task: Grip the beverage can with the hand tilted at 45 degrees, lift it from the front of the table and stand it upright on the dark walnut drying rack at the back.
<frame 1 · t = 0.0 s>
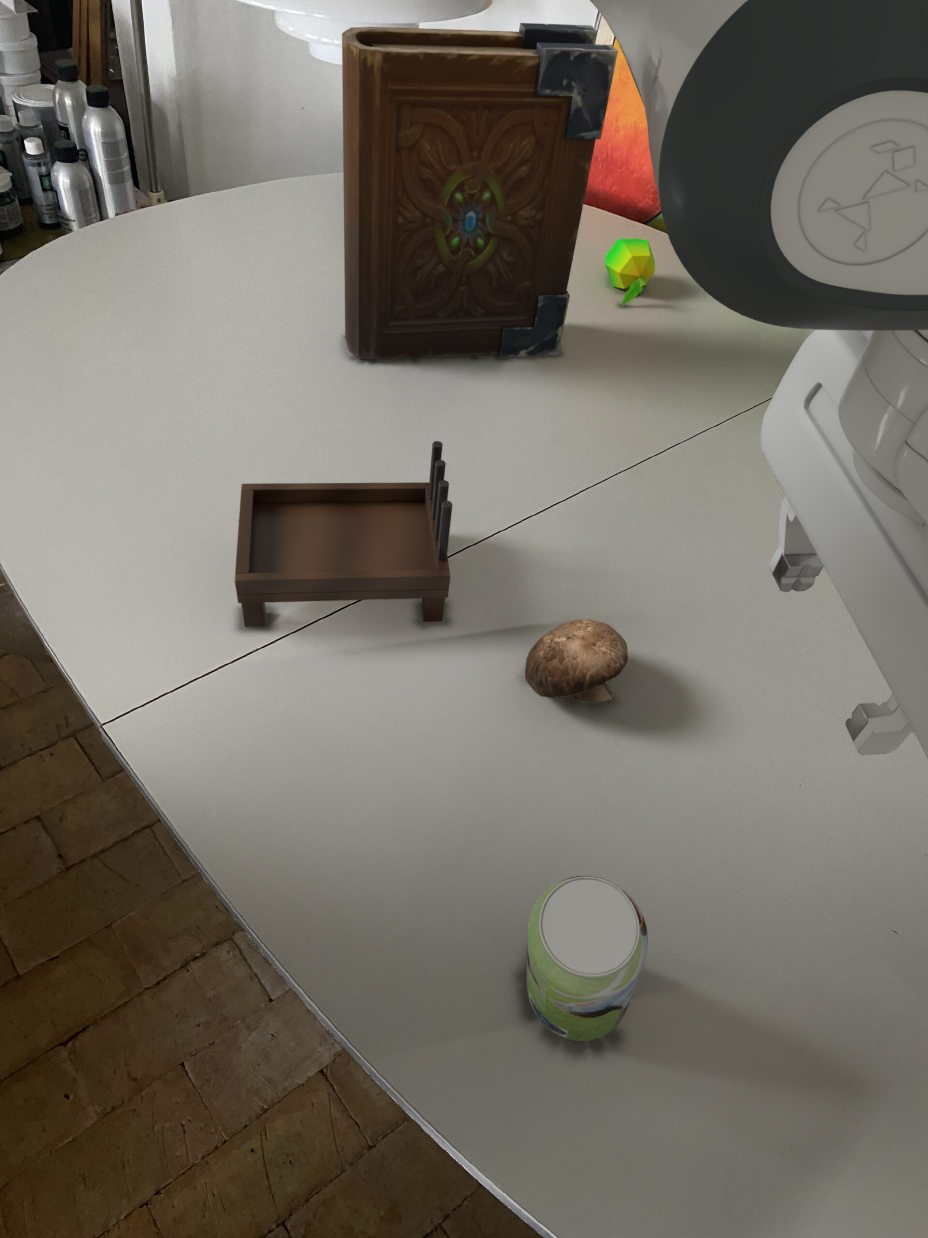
hand: (824, 654, 40), 23 cm above the table, tool pointing down, fingers open, 8 cm apart
decorative book: (450, 344, 98), on the table
rack: (343, 576, 73), on the table
beverage can: (563, 997, 52), on the table
apple: (627, 291, 110), on the table
mushroom: (569, 684, 68), on the table
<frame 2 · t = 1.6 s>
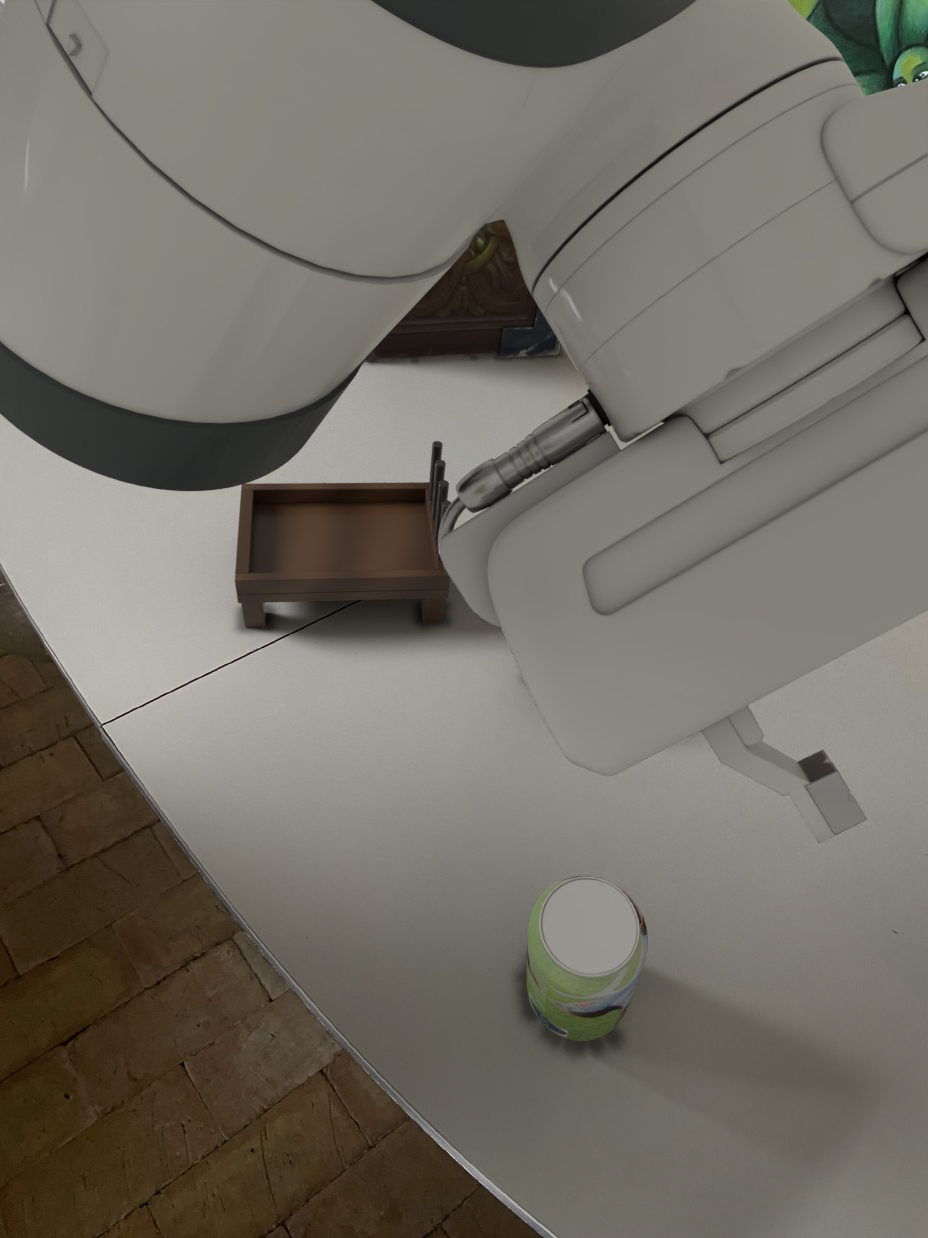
nothing on the table moved.
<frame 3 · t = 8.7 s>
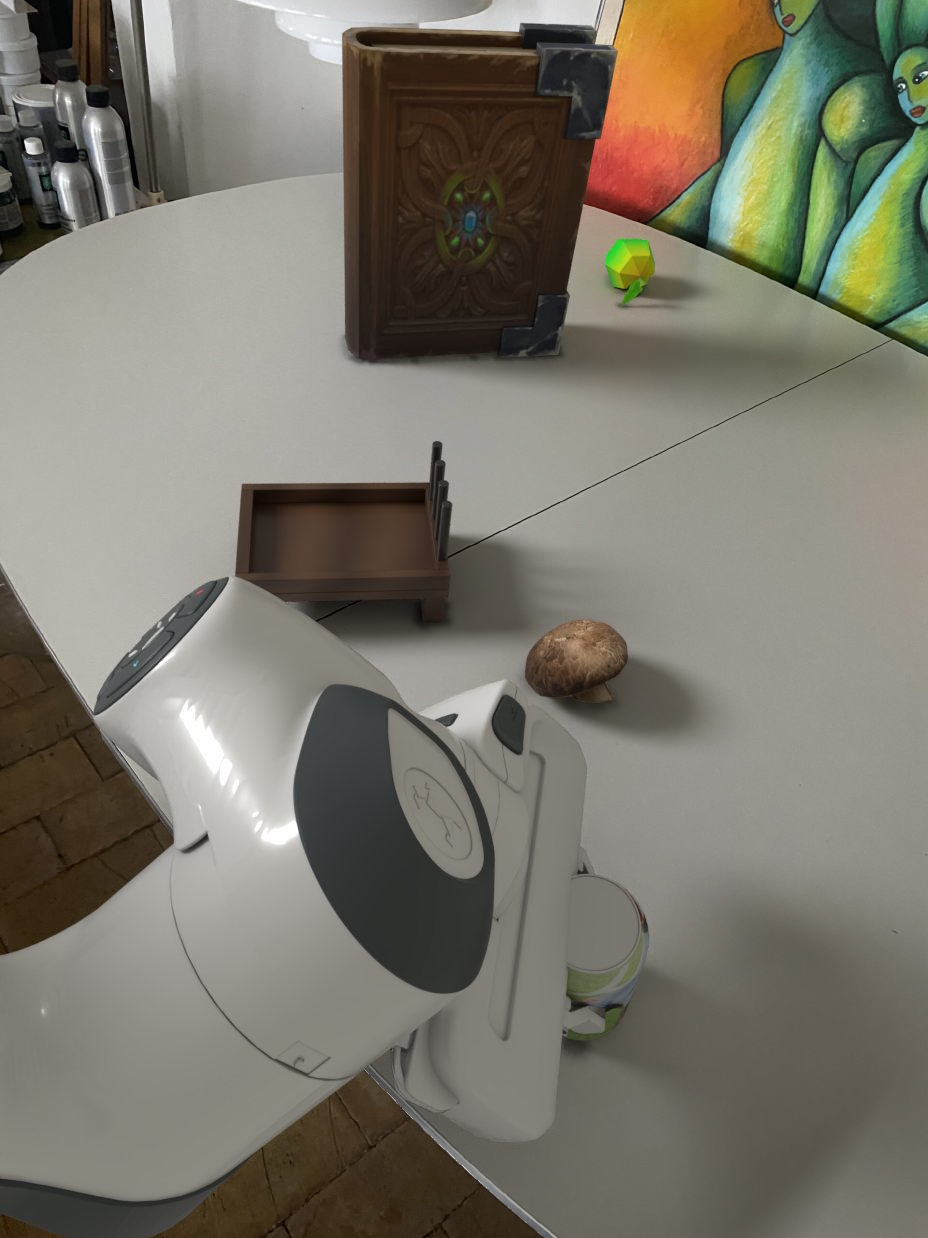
hand: (598, 962, 47), 6 cm above the table, tool tilted 45°, fingers closed on beverage can, 4 cm apart
beverage can: (563, 997, 52), on the table, touching gripper
everything else where it was.
when the fingers open (11 cm above the table, at t = 18.1 s): beverage can stays where it is, resting on rack.
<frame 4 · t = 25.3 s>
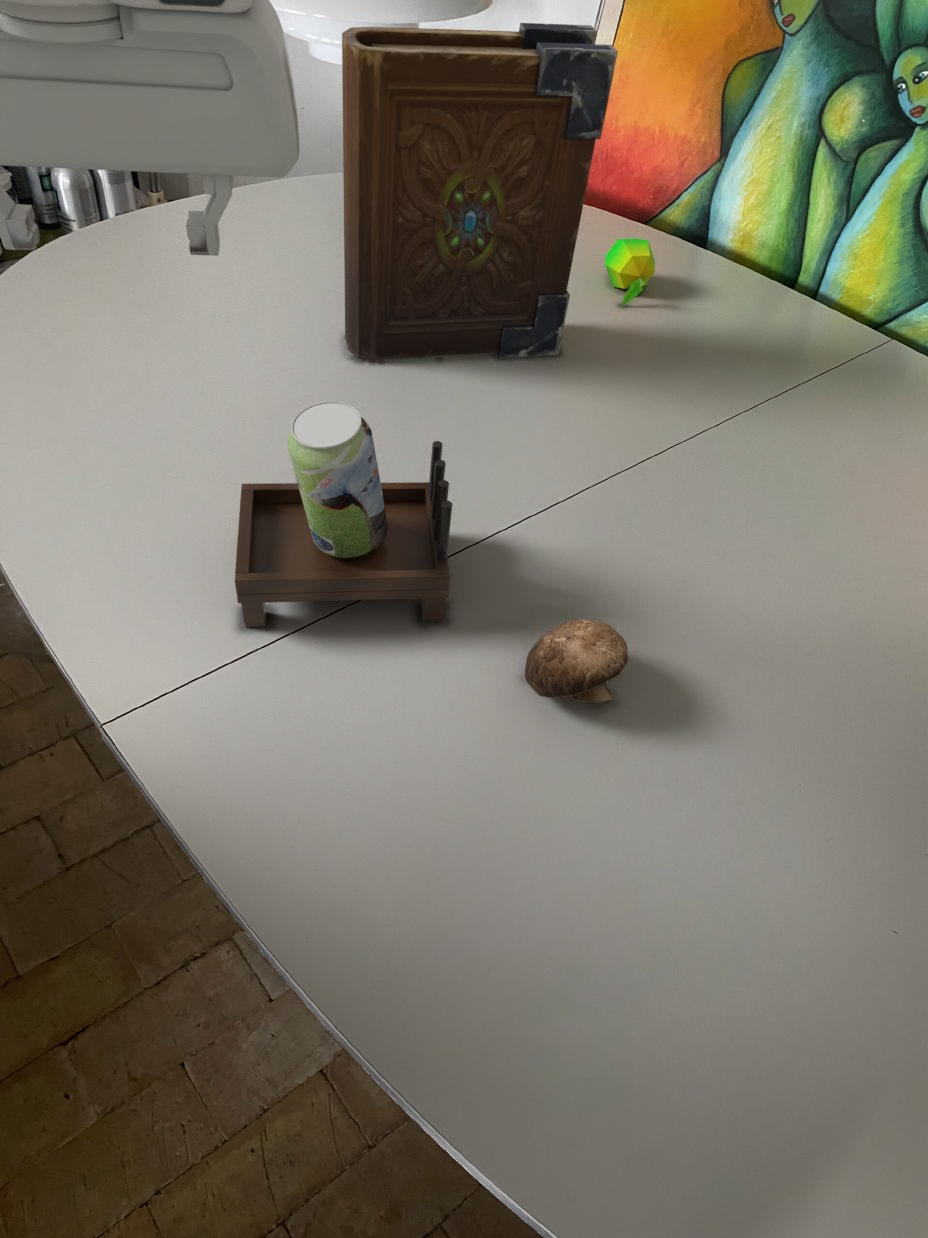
hand: (115, 248, 47), 29 cm above the table, tool pointing down, fingers open, 8 cm apart
beverage can: (341, 543, 70), point 4 cm above the table, touching rack
everything else where it was.
at the end: beverage can inside the target area on the rack (0.1 cm from its centre), point 3.8 cm above the rack's base; beverage can tilted 0°; the gripper is holding nothing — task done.
